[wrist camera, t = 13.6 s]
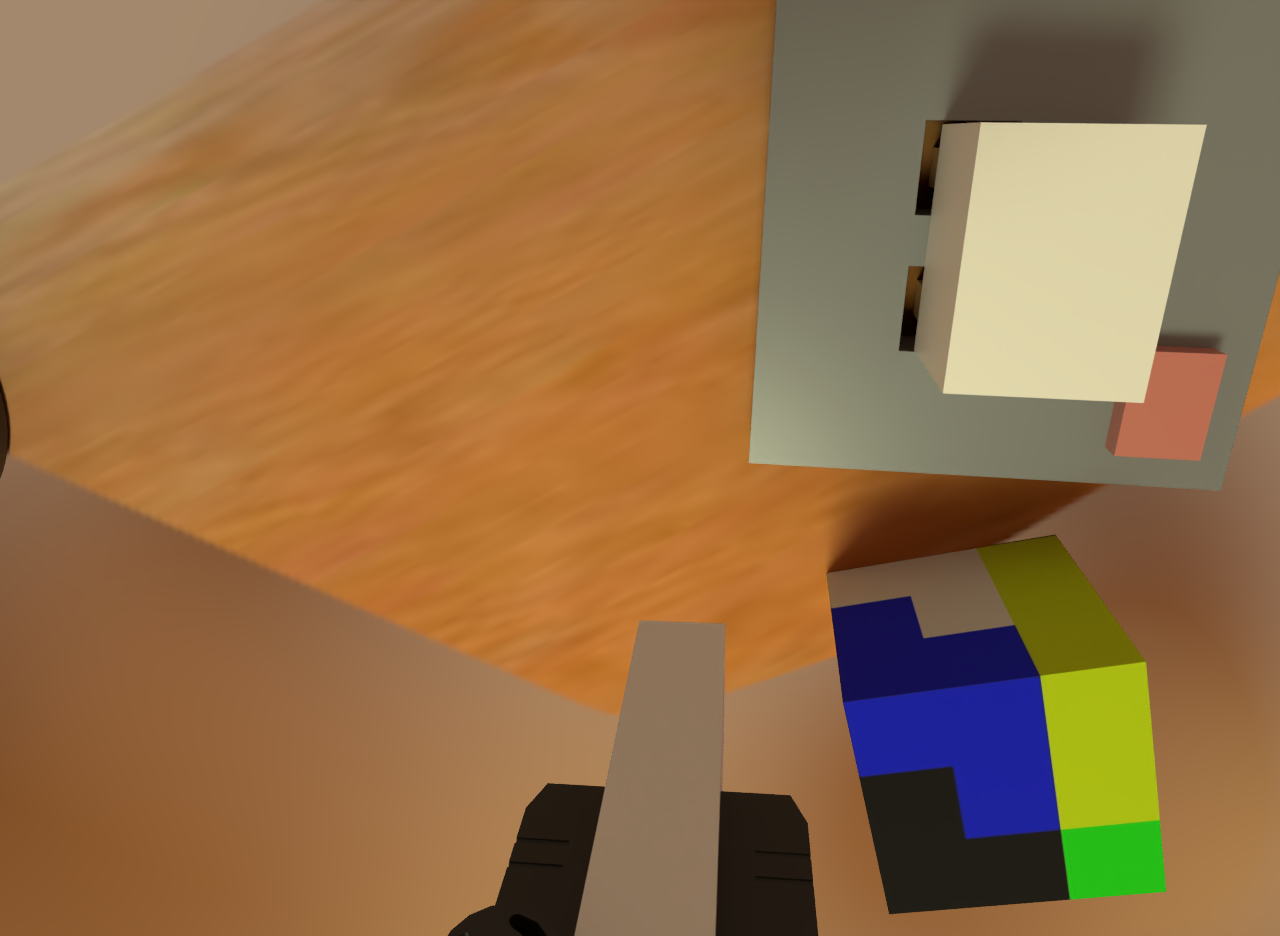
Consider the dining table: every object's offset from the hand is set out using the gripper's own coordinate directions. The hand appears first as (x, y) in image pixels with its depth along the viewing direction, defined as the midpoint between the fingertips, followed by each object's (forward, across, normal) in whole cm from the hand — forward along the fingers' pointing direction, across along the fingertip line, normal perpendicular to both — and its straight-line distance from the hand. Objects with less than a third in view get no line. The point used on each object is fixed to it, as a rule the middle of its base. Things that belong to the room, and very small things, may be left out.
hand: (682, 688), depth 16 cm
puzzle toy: (+24, +11, -14) cm, 30 cm away
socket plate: (+23, +11, +5) cm, 26 cm away
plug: (+23, +11, +5) cm, 26 cm away
